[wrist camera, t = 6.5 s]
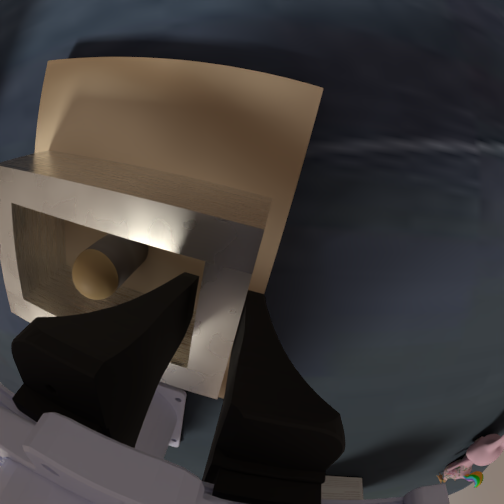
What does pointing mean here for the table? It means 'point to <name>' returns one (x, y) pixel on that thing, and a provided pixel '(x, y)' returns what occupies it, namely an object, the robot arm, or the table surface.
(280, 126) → the board
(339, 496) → the supplement box
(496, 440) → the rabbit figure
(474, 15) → the table surface
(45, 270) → the beige hollow boxy piece
